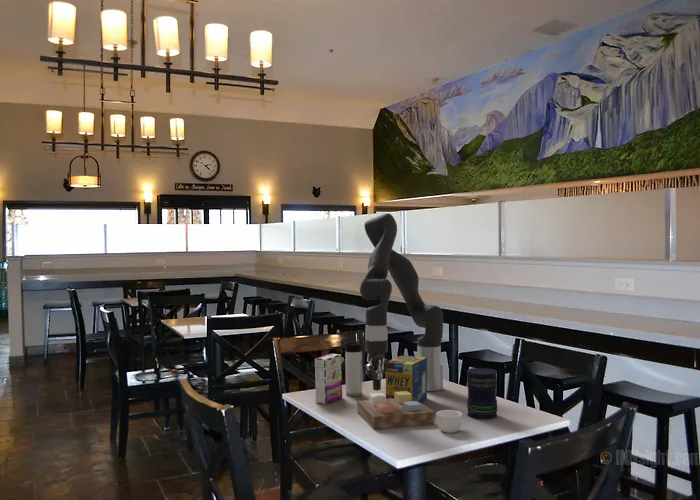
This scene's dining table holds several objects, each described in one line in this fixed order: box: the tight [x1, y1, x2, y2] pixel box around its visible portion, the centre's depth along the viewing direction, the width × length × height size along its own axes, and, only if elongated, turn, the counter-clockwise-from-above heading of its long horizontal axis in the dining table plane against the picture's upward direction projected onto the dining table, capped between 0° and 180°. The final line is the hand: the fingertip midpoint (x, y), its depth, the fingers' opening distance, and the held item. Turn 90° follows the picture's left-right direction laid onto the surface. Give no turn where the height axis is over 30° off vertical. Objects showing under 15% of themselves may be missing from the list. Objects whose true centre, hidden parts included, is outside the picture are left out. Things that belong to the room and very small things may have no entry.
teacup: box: [436, 409, 466, 434], centre depth 185 cm, size 10×8×5 cm
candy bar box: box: [314, 353, 343, 405], centre depth 223 cm, size 11×5×16 cm, turn 148°
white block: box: [368, 392, 386, 406], centre depth 202 cm, size 5×5×4 cm
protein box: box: [385, 354, 428, 403], centre depth 220 cm, size 10×15×16 cm
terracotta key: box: [377, 403, 395, 414], centre depth 193 cm, size 5×5×4 cm
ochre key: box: [394, 391, 412, 404], centre depth 204 cm, size 5×5×4 cm
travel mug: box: [344, 342, 363, 397], centre depth 231 cm, size 6×7×20 cm
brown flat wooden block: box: [356, 397, 435, 431], centre depth 199 cm, size 20×20×4 cm
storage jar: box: [466, 367, 498, 421], centre depth 201 cm, size 10×10×15 cm
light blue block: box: [403, 401, 421, 411], centre depth 195 cm, size 5×5×4 cm
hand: (376, 389), depth 202 cm, fingers closed
